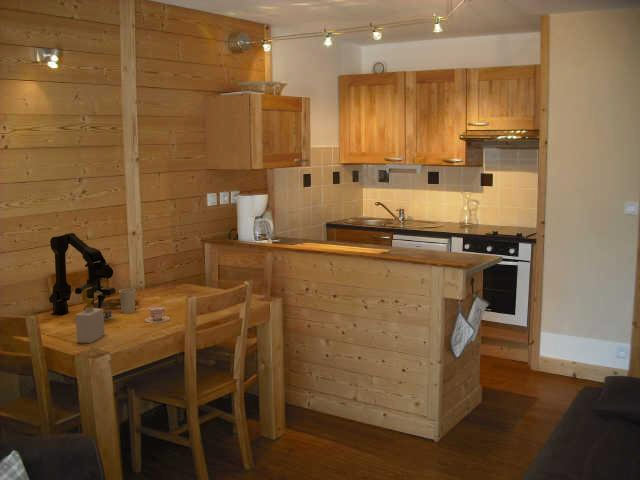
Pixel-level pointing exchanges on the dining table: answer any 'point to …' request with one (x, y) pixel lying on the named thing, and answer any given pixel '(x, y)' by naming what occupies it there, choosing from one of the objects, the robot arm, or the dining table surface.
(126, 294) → the cup
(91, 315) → the soap bottle
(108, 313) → the bracket far
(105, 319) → the board
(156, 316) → the teacup
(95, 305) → the rail
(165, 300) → the dining table surface
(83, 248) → the robot arm
